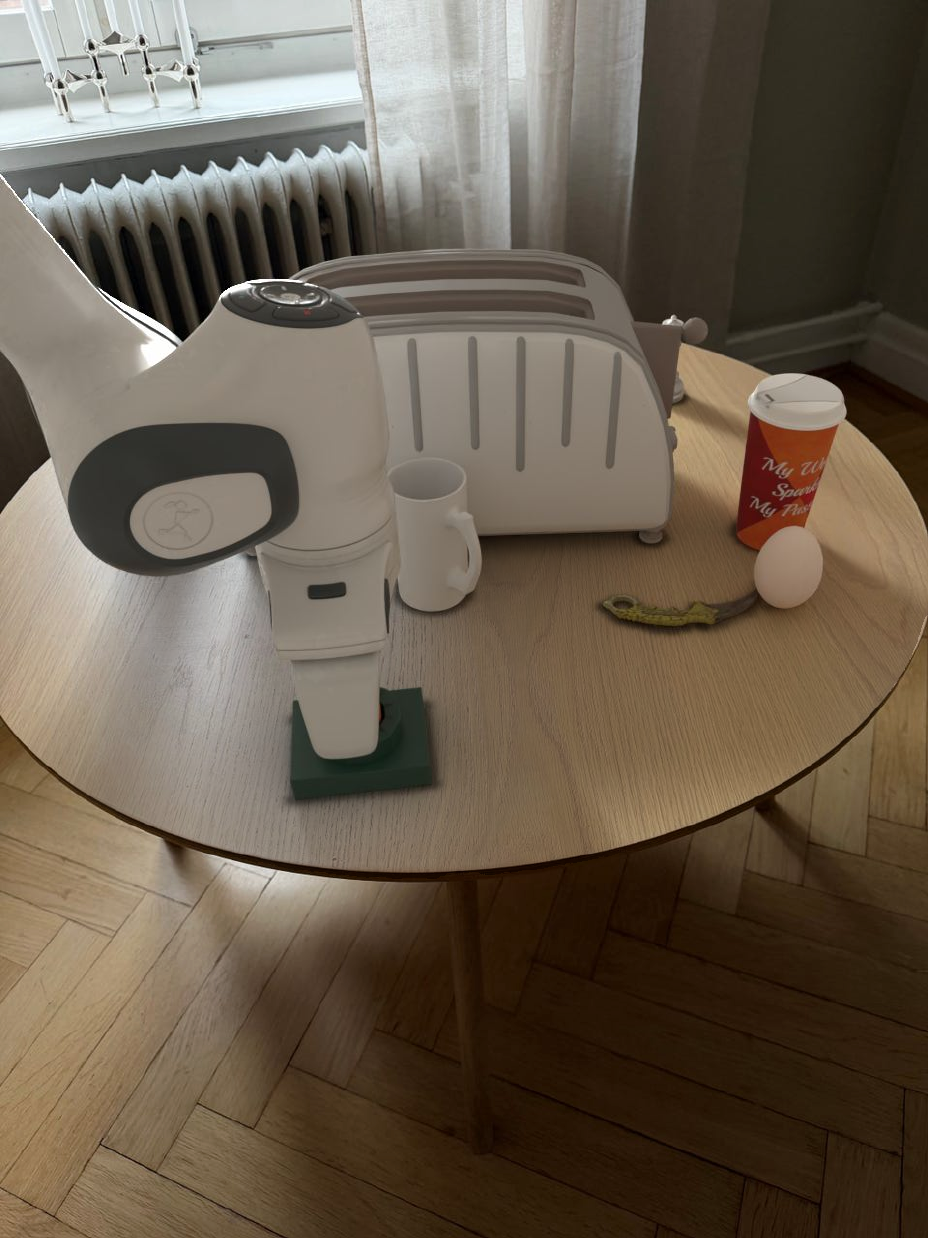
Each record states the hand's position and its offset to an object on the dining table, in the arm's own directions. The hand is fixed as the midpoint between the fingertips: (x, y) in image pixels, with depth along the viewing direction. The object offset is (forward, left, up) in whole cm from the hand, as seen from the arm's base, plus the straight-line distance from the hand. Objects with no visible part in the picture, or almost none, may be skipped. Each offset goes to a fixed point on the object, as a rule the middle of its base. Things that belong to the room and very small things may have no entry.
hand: (352, 700), depth 66 cm
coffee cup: (+40, +22, -6) cm, 46 cm away
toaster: (+12, +33, -6) cm, 36 cm away
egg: (+37, +12, -6) cm, 40 cm away
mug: (+8, +17, -6) cm, 19 cm away
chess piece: (+38, +51, -6) cm, 64 cm away
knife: (+29, +12, -5) cm, 32 cm away
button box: (0, 0, -5) cm, 5 cm away
